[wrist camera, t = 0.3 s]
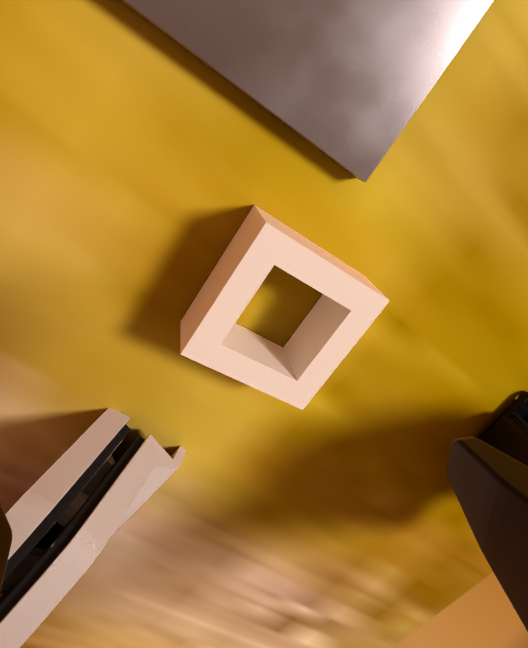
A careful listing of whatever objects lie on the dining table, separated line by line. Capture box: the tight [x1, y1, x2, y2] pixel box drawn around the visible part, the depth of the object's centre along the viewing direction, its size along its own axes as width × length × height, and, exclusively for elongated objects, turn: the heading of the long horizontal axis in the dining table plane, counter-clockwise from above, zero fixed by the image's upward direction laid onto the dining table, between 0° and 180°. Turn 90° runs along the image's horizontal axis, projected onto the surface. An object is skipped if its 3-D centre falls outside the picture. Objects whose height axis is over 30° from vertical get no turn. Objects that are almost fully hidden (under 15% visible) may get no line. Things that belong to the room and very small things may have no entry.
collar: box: [180, 205, 389, 410], centre depth 20 cm, size 6×6×3 cm
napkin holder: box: [0, 408, 186, 648], centre depth 21 cm, size 17×5×10 cm, turn 138°
